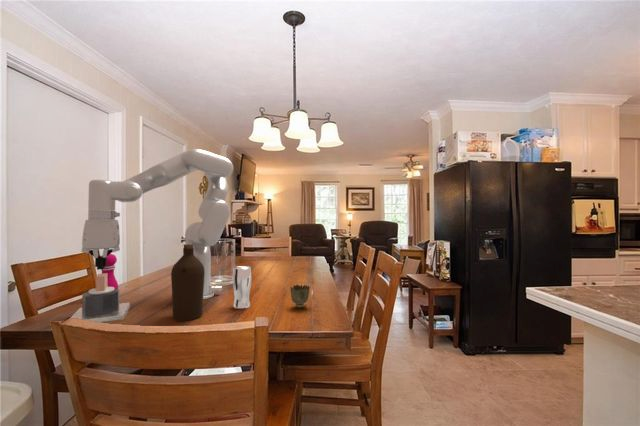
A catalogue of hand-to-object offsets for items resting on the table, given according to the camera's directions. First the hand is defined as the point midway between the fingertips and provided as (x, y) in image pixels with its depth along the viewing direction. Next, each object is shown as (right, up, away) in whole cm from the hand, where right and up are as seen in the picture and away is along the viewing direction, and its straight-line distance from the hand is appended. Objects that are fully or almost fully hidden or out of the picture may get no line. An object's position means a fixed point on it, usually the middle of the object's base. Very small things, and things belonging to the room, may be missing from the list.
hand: (100, 268), depth 103 cm
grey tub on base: (0, -16, 0) cm, 16 cm away
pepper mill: (-12, -16, +20) cm, 28 cm away
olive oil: (+30, -17, 0) cm, 34 cm away
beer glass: (+46, -17, +12) cm, 50 cm away
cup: (+68, -17, +11) cm, 71 cm away
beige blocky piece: (0, -11, 0) cm, 11 cm away
